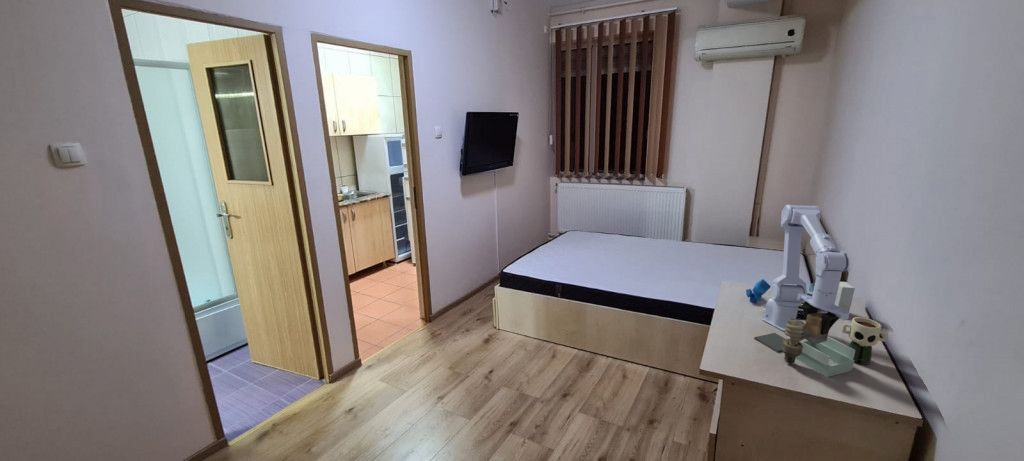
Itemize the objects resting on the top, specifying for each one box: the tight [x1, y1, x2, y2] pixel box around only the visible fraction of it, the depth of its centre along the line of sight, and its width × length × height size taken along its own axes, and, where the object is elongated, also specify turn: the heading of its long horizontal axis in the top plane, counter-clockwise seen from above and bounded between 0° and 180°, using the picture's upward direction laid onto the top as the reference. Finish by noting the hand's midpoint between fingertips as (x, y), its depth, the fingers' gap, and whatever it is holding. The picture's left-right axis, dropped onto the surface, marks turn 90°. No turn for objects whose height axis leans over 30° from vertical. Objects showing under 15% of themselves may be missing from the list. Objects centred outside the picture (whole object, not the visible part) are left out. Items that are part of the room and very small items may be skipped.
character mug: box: [841, 316, 889, 365], centre depth 133 cm, size 11×7×13 cm, turn 58°
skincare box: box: [835, 281, 856, 313], centre depth 163 cm, size 6×4×12 cm
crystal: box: [745, 278, 772, 304], centre depth 175 cm, size 7×9×12 cm
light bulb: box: [782, 318, 807, 365], centre depth 131 cm, size 6×6×15 cm
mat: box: [753, 332, 786, 353], centre depth 144 cm, size 9×9×1 cm
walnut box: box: [803, 311, 830, 344], centre depth 133 cm, size 4×5×8 cm
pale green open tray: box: [795, 336, 855, 378], centre depth 133 cm, size 13×11×6 cm
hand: (816, 330), depth 133 cm, fingers closed on walnut box, 4 cm apart
